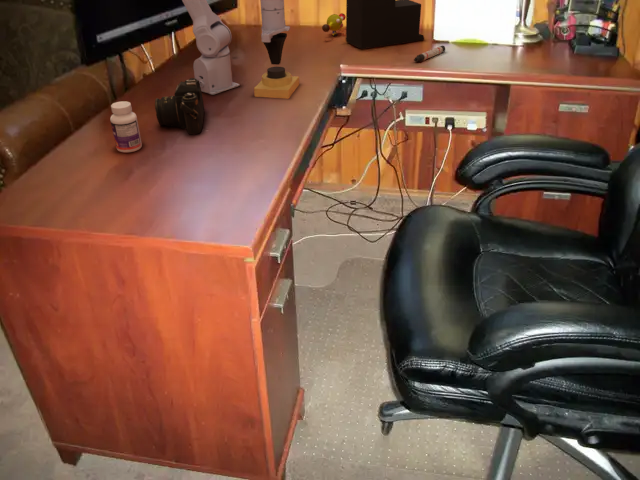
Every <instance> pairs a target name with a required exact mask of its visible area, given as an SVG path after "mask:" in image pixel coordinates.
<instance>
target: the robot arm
mask: <svg viewBox="0 0 640 480" xmlns="http://www.w3.org/2000/svg"><path fill="white" fill-rule="evenodd" d="M181 1H182V3H183V5H184V7H185V9H186V11H187V13H188V15H189V16H190V18H191V21H192V33H193V35H194V38H195V44H196V48H197V49H198V51H199V52H200V54H201V55H200V56H199V57H198V58H196V59H195V60H194V61H193V68H192V69H193V76H194V78H195V79H197V80H199V83H200V87H201V92H203V93H206V94H209V95H212V96H214V95H217V94H220V93H223V92H225V91H229V90H232V89H235V88H238V87H240V86H241V84H240V83H237V82H234V81H233V72H232V63H231V52H230V51H231V50H230V48H229V45H230V44H231V42H232V38H233V37H232V32H231V29H230V28H229V27H228V26H227V25H226V24H225V23H224V22H223V21H222V19H221V17H220V15H218V14H216V13H215V12H214V11H212V8H211V6H210V5H209V3H208V1H207V0H181ZM260 14H261V16H260V17H261V27H260V28H261V29H260V30H261V34H260V36H261V43H263V45H264V47H265V49H266V51H267V55H268V58H269V62H270V64H271V65H276V66H277V65H281V62H282V56H283V49H284V45H285V42H286V40H287V37H288V33H286V32H288V31H290V30H291V26H290V25H286V15H285V14H286V13H285V0H260Z"/></svg>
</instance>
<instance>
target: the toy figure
mask: <svg viewBox="0 0 640 480" xmlns="http://www.w3.org/2000/svg"><path fill="white" fill-rule="evenodd" d="M343 21H346V14H345V13H343V12H341V13H339V14H336V13H333V14H330V15H329V16H328V17H327V19H326V23H325V24H322V27H321V28H322V31H323V32H324V33H328V32H329V31H332V32H331V34H332V35H331V36H332V37H336V36H338V35H339V33H337V31H339V30H340V29H341V28H342V27H344V23H343Z"/></svg>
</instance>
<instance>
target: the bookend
mask: <svg viewBox="0 0 640 480" xmlns="http://www.w3.org/2000/svg"><path fill="white" fill-rule="evenodd" d="M345 7H346V9H345V10H346V11H345V13H346V14H345V16H346V18H345V24H346V26H345V42H346V43H347V44H350V45H352V46H354V47H356V48H358V49H360V50H366V49H372V48H379V47H386V46H394V45H400V44H401V45H402V44H407V43H414V42H420V41H425V37H424V34H421V33H420V29H421V28H420V27H421V13H422V3H419V2H417V1H413V0H346V5H345Z"/></svg>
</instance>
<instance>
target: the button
mask: <svg viewBox="0 0 640 480" xmlns="http://www.w3.org/2000/svg"><path fill="white" fill-rule="evenodd" d="M266 70H267V71H266V73H267V74H268V78H271V79H279V78H284V77H286V76H285V72H286V68H285V67H284V66H271V67H267V68H266Z"/></svg>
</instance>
